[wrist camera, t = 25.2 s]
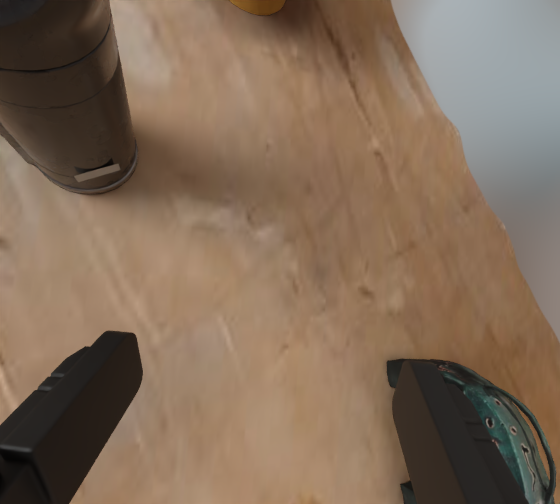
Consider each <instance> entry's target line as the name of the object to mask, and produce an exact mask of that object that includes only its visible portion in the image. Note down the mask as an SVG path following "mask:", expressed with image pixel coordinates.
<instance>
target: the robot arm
mask: <svg viewBox="0 0 560 504" xmlns="http://www.w3.org/2000/svg"><path fill="white" fill-rule="evenodd" d="M0 134H1V135H2V136H3V137H4V138H5V139H6V140H7V142H8V143H9V144H10V145H11V146H12V147H13V148H14V149H15V150H16V151H17V152H18V153H19V154H20V155H21V157H22V158H23V159H24V160H25V161H26V162H27V163H29V164H33V165H35V166H37V167H38V168H39V170H40V171H41V172H42V173H43V174H44V175H45V176H46V177H47V178H48V179H49V180H50V181H52V182H53V183H54V184H56V185H58V186H59V187H61V188H64V189H66V190H69V191H72V192H76V193H82V194H98V193H104V192H107V191H110V190H113V189H115V188H117V187H119V186H121V185H122V184H123V183H125V182H126V181H127V180H128V179H129V178H130V177H131V175H132V174H133V172H134V170H135V168H136V165H137V161H138V149H137V144H136V140H135V137H134V132H133V126H132V121H131V116H130V110H129V105H128V99H127V94H126V89H125V83H124V78H123V73H122V67H121V62H120V57H119V51H118V46H117V40H116V36H115V30H114V25H113V19H112V14H111V8H110V1H109V0H0ZM142 376H143V370H142V364H141V359H140V353H139V348H138V342H137V338H136V335H135V334H134V333H129V332H119V331H106V332H104V333H103V334H102V335H101V336H100V337H99V338H98V339H97V340H96V341H95V342H94V344H93V345H92V346H91V347H86V346H85V347H84V348H82V349H81V350H79V351H77V352H76V353H74V354H73V355H71V356H69V357H68V358H66V359H65V360H64V361H63V362H62V363H61V364H60V365H59V366H58V367H57V368H56V369H55V370H54V371H53V372H52V373H51V376H50V377H47V378H46V379H45V381H44V382H43V383H42V384H41V385H40V386H39V387H38V390H35V391H34V392H33V393H32V394H31V395H30V396H29V397H28V398H27V399H26V400H25V401H24V402H23V403H22V404H21V405H20V406H19V407H18V408H17V409H16V410H15V411H14V412H13V413H12V414H11V415H10V416H9V417H8V418H7V419H6V420H5V421H4V422H3V423H2V424H1V425H0V504H69V503H70V501H71V500H72V498H73V496H74V495H75V493H76V491H77V490H78V488H79V487H80V485H81V483H82V482H83V480H84V478H85V477H86V475H87V474H88V472H89V470H90V469H91V467H92V465H93V464H94V462H95V460H96V459H97V457H98V456H99V454H100V452H101V451H102V449H103V447H104V446H105V444H106V442H107V441H108V439H109V438H110V436H111V434H112V433H113V431H114V429H115V428H116V426H117V425H118V423H119V421H120V420H121V418H122V416H123V415H124V413H125V411H126V410H127V408H128V407H129V405H130V403H131V402H132V400H133V398H134V397H135V395H136V393H137V392H138V390H139V387H140V385H141V381H142ZM392 410H393V418H394V422H395V426H396V430H397V433H398V437H399V440H400V444H401V447H402V451H403V455H404V458H405V462H406V465H407V469H408V473H409V476H410V480H411V483H412V487H413V491H414V494H415V498H416V501H417V504H529V502H528V500H527V499H526V497H525V495H524V493H523V492H522V490H521V488H520V486H519V485H518V483H517V481H516V479H515V477H514V476H513V474H512V472H511V470H510V469H509V467H508V465H507V463H506V462H505V460H504V458H503V456H502V454H501V453H500V451H499V449H498V447H497V446H496V444H495V442H493V441H492V437H491V435H490V433H489V431H488V430H487V428H486V426H485V425H483V423H482V419H481V417H480V416H479V414H478V412H477V410H476V409H475V407H474V405H473V403H472V401H471V400H470V399H469V398H468V397H467V396H466V395H465V394H464V393H463V392H462V391H461V390H460V389H459V388H458V387H457V386H456V385H455V384H446V383H445V382H444V380H443V378H442V376H441V374H440V372H439V370H438V368H437V366H436V365H435V364H434V363H431V362H421V361H410V360H405V361H404V362H403V364H402V368H401V371H400V375H399V378H398V382H397V385H396V389H395V392H394V396H393V403H392Z"/></svg>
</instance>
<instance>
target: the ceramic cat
mask: <svg viewBox="0 0 560 504" xmlns="http://www.w3.org/2000/svg"><path fill="white" fill-rule="evenodd" d="M405 360H410V361H421V362H431V363H434V364H435V365H436V366H437V368H438V370H439V372H440V374H441V376H442V378H443V380H444V382H445V383H446V384H455V385H456V386H457V387H458V388H459V389H460V390H461V391H462V392H463V393H464V394H465V395H466V396H467V397H468V398H469V399H470V400H471V401H472V403H473V405H474V407H475V409H476V410H477V412H478V414H479V416H480V417H481V419H482V423H483V425H485V426H486V428H487V430H488V431H489V433H490V435H491V437H492V441H493V442H495V444H496V446H497V447H498V449H499V451H500V453H501V454H502V456H503V458H504V460H505V462H506V463H507V465H508V467H509V469H510V470H511V472H512V474H513V476H514V477H515V479H516V481H517V483H518V485H519V486H520V488H521V490H522V492H523V493H524V495H525V497H526V499H527V500H528V502H529V504H555V503H554V497H553V494H554V491H555V487H556V468H555V464H554V461H553V458H552V454H551V451H550V447H549V445H548V442H547V440H546V438H545V435H544V433H543V431H542V429H541V427H540V425H539V423H538V421H537V419H536V418H535V416H534V415H533V414H532V413H531V412H530V410H529V409H528V408H527V407H526V406H525V405H524V404H523V403H521V402H520V401H519V400H518V399H516V398H515V397H514V396H512V395H511V394H509V393H507V392H506V391H504V390H502V389H500V388H498V387H496V386H495V385H493V384H492V383H491V382H490V381H488V380H486V379H485V378H483V377H481V376H480V375H478V374H477V373H476V372H475V371H473V370H471V369H469V368H467V367H465V366H462V365H460V364H457V363H454V362H450V361H443V360H434V359H430V360H425V359H398V360H392V361H387V375H388V381H389V383H390V386H391V387H394V388H396V385H397V382H398V378H399V375H400V371H401V368H402V364H403V362H404V361H405ZM512 402H514V403H515V404H516V405H517V406H518V407H519V409H520V410H521V411H522V412H523V413H524V414H525V415H526V416H527V417H528V418H529V420H530V421H531V423H532V425H533V426H534V428H535V429H536V431H537V434H538V436H539V438H540V441H541V444H542V446H543V449H544V451H545V454H546V456H547V460H548V464H549V471H550V482H549V479H548V476H547V474H546V471H545V469H544V466H543V463H542V461H541V458H540V455H539V451H538V448H537V444H536V441H535V438H534V436H533V433H532V431H531V429H530V427H529V425H528V424H527V422H526V421H525V420H524V418H523V417H522V416H521V414H520V412H519V411H518V409H517V407H516V406H515V405H514V404H513V403H512ZM401 489H402V493H403V498H404V504H417V501H416V498H415V494H414V491H413V487H412V483H411V481H410V482H407V483H405V484H401Z"/></svg>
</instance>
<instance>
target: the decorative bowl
mask: <svg viewBox="0 0 560 504" xmlns="http://www.w3.org/2000/svg"><path fill="white" fill-rule="evenodd" d="M229 1H231V2H232V3H233V4H234V5H236V6H237V7H239V8H240V9H242V10H245V11H247V12H249V13H252V14H256V15H270V14H272V13H275V12H277V11H279V10H280V9H281V8H282V7H283V5H284V3H285V0H229Z"/></svg>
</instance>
